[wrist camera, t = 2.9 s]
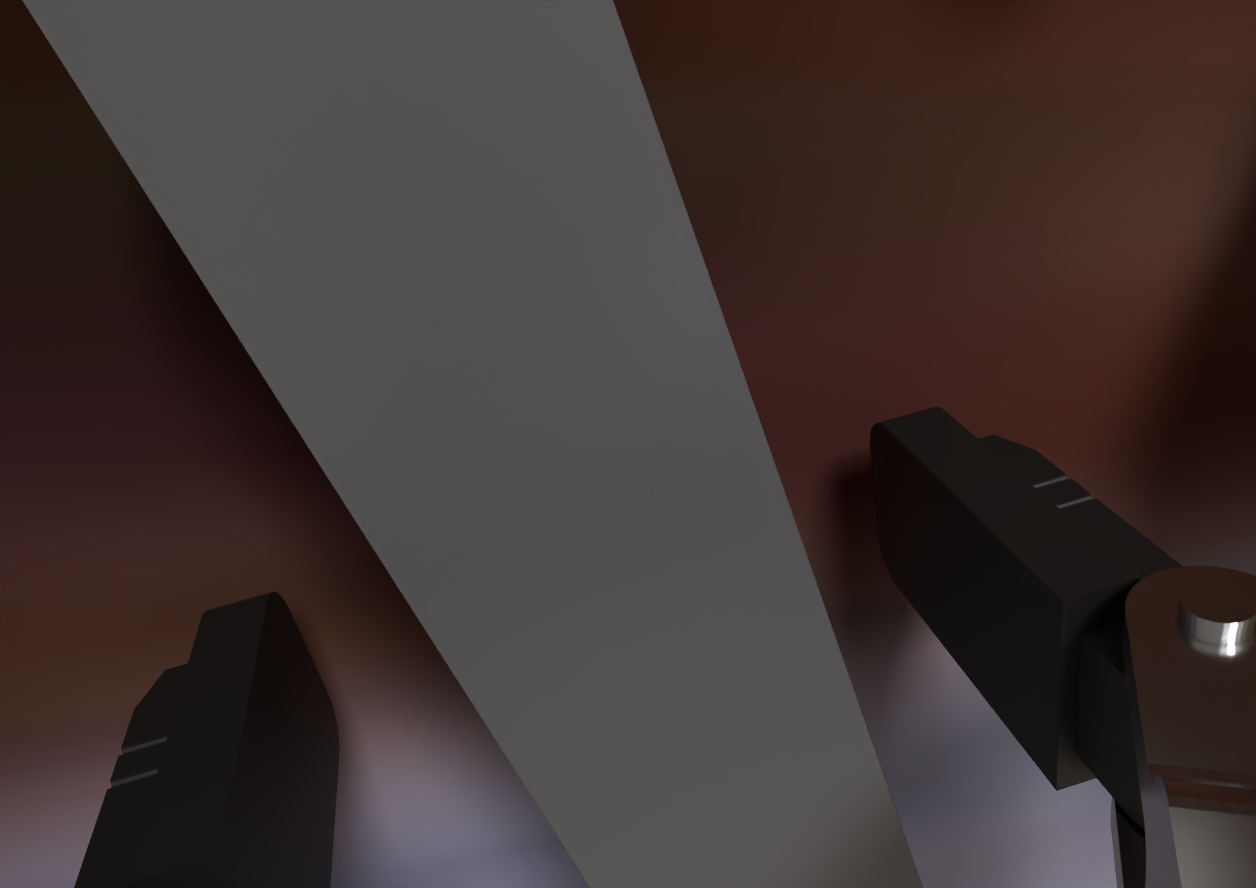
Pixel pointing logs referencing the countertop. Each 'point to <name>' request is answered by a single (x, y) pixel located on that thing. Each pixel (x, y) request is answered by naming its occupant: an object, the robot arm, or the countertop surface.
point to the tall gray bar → (516, 402)
